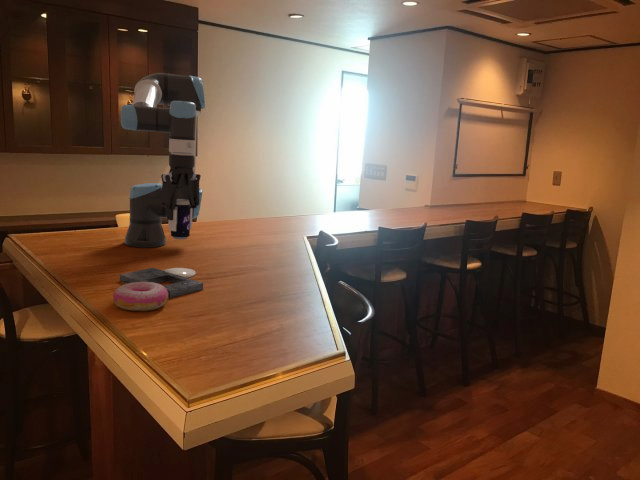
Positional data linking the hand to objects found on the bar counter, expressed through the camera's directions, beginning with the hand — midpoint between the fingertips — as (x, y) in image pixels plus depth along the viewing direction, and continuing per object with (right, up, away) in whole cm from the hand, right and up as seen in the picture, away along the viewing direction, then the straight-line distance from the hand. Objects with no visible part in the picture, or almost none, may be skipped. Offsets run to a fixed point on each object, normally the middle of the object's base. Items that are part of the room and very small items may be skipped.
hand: (180, 229), depth 162 cm
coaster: (-1, -14, +3) cm, 14 cm away
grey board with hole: (-3, -16, -10) cm, 20 cm away
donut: (-3, -20, -27) cm, 34 cm away
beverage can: (0, -3, +1) cm, 3 cm away
